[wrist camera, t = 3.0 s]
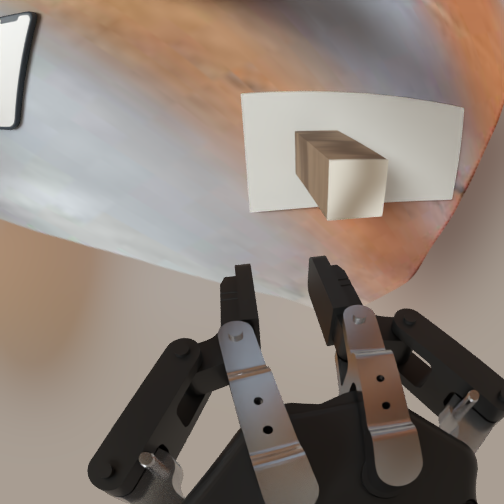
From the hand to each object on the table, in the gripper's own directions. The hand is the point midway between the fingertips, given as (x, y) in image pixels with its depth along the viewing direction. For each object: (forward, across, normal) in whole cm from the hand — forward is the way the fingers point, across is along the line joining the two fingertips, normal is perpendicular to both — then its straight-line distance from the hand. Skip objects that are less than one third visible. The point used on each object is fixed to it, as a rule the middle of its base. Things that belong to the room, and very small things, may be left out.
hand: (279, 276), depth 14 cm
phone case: (+24, +30, -18) cm, 42 cm away
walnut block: (+22, -8, 0) cm, 23 cm away
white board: (+23, -15, 0) cm, 28 cm away
